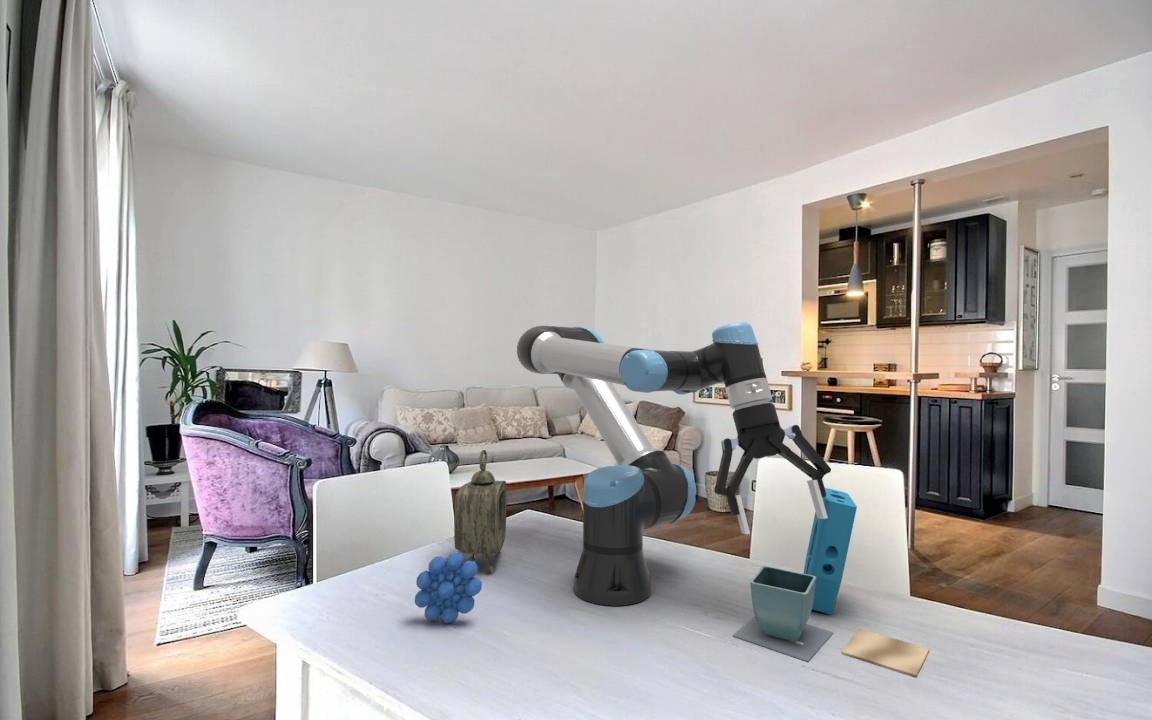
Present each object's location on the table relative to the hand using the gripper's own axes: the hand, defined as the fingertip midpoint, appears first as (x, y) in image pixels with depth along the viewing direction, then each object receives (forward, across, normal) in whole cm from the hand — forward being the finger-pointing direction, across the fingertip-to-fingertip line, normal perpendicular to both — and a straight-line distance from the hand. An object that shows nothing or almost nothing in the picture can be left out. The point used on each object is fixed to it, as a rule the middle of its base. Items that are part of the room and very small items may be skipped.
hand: (784, 526), depth 98 cm
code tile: (+16, -5, -1) cm, 17 cm away
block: (+15, +5, +11) cm, 20 cm away
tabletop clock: (-1, -58, +28) cm, 65 cm away
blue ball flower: (+5, -60, +2) cm, 60 cm away
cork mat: (+20, +8, -6) cm, 23 cm away
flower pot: (+16, -5, -1) cm, 17 cm away
